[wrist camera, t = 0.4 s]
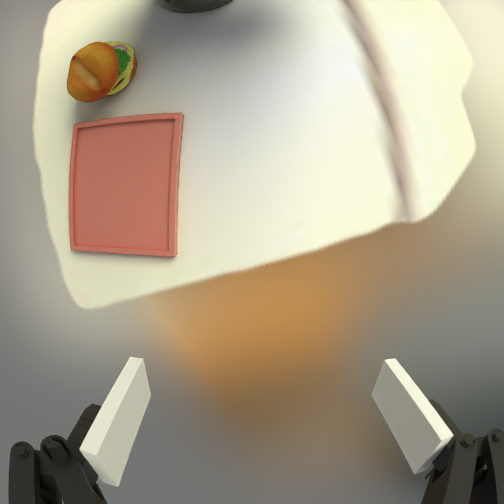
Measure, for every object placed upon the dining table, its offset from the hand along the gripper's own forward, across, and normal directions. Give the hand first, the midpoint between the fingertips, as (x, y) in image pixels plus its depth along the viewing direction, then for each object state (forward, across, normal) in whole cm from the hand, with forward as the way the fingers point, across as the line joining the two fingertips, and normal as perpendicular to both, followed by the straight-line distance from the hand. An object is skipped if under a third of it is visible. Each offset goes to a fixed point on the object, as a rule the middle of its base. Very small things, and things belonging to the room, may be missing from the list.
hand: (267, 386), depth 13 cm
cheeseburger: (+27, -23, +28) cm, 46 cm away
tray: (+27, -20, +10) cm, 35 cm away
